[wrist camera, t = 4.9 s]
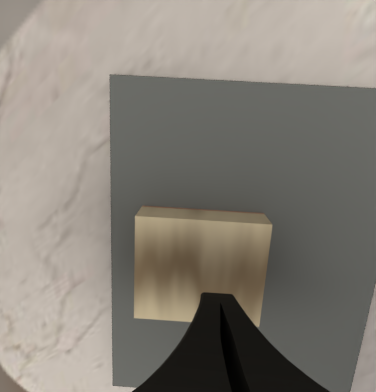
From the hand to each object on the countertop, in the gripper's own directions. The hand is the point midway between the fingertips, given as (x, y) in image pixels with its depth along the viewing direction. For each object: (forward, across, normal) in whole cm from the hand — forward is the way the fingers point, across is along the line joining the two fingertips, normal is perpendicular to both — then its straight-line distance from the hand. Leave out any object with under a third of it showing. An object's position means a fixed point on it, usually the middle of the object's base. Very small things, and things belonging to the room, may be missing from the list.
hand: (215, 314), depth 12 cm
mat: (+6, -2, 0) cm, 6 cm away
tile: (+4, -3, 0) cm, 5 cm away
